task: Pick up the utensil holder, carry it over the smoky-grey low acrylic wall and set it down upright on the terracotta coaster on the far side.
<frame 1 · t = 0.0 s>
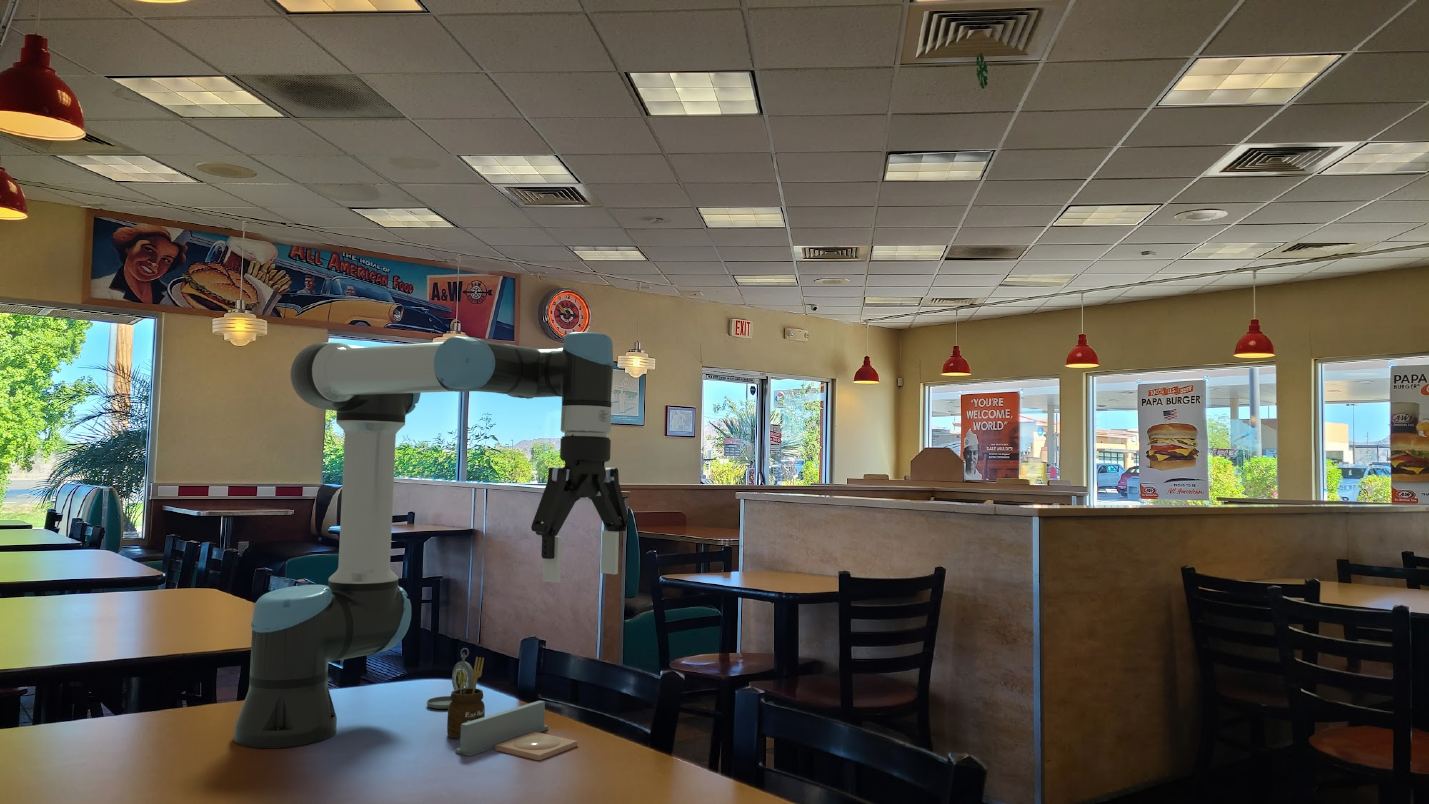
hand: (581, 577, 141), 28 cm above the table, fingers open, 13 cm apart
pocket watch: (451, 706, 174), on the table
low wall: (503, 740, 152), on the table
coaster: (536, 748, 149), on the table
utensil holder: (465, 735, 155), on the table
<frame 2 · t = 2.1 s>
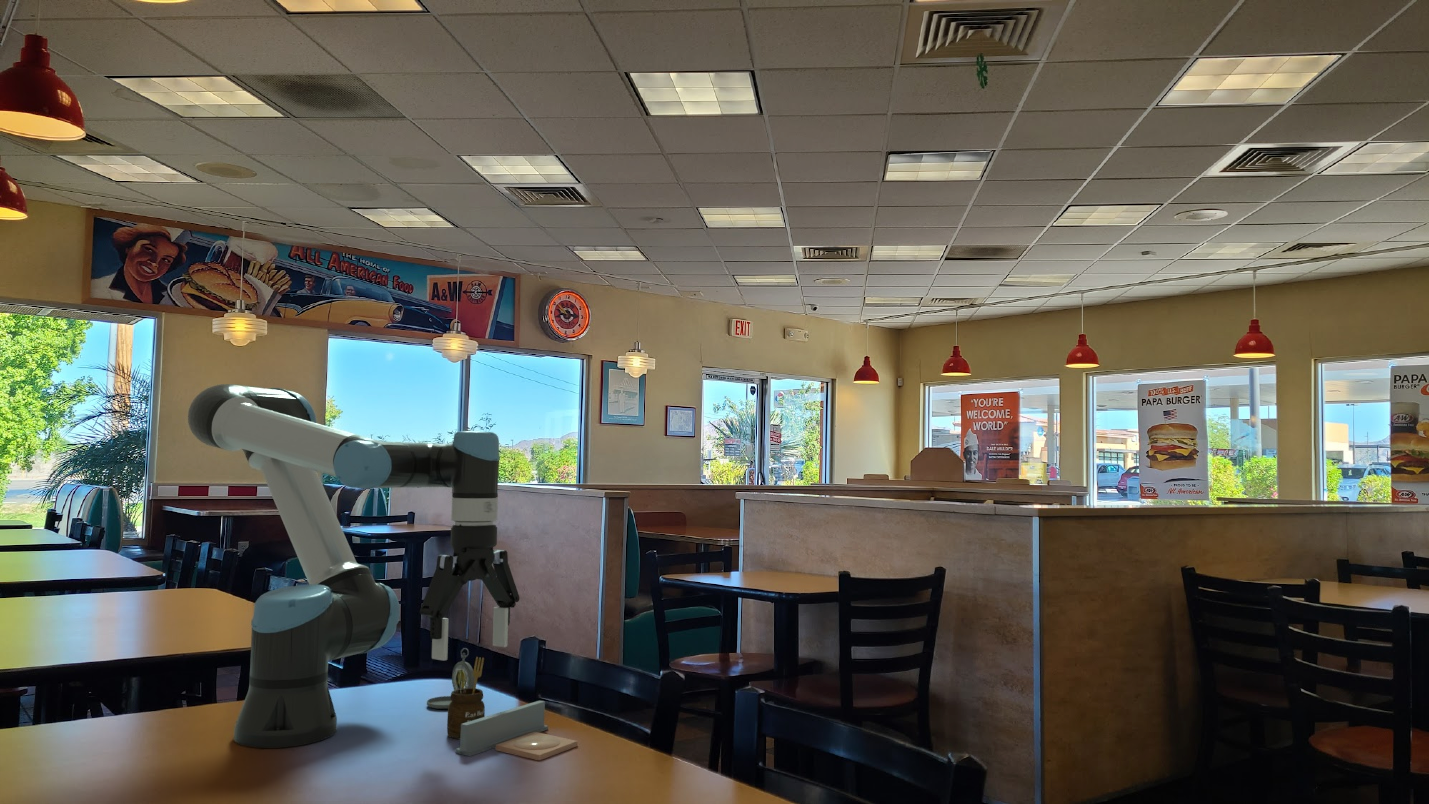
hand: (470, 652, 156), 13 cm above the table, fingers open, 13 cm apart
nothing on the table moved.
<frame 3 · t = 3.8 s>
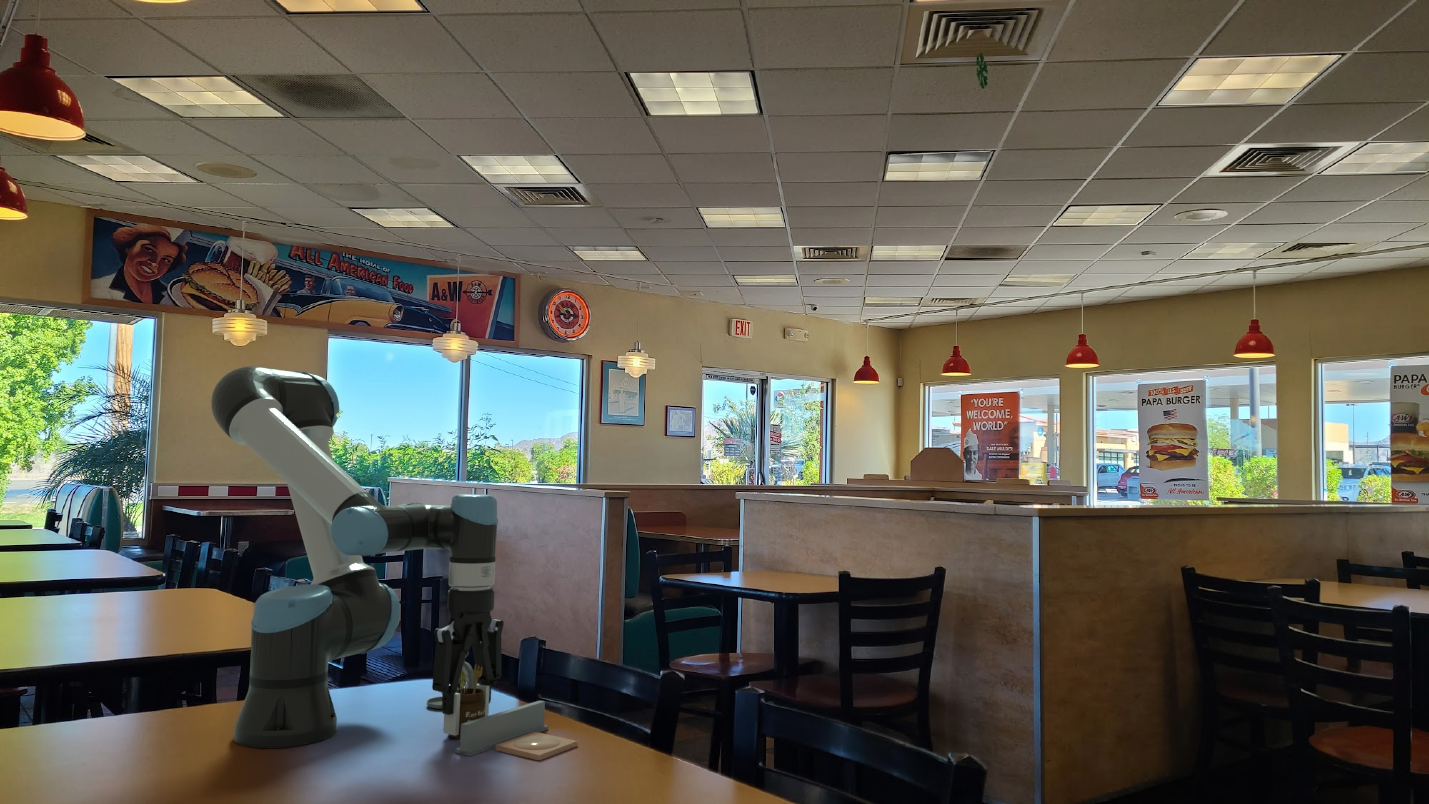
hand: (466, 728, 155), 1 cm above the table, fingers closed on utensil holder, 6 cm apart
utensil holder: (466, 735, 156), on the table, touching gripper
everything else where it was.
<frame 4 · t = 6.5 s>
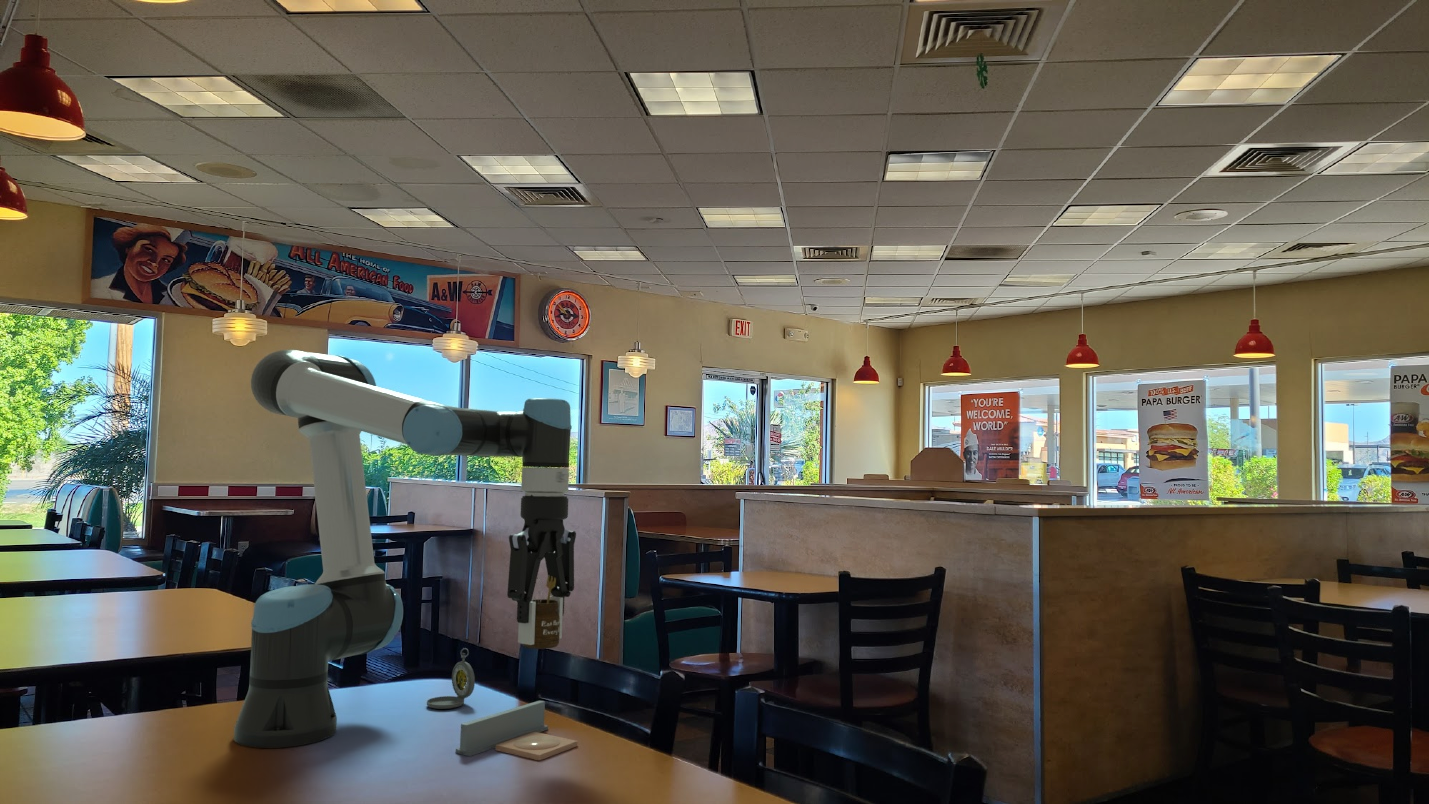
hand: (540, 640, 150), 17 cm above the table, fingers closed on utensil holder, 6 cm apart
utensil holder: (540, 647, 150), point 16 cm above the table, touching gripper
everything else where it was.
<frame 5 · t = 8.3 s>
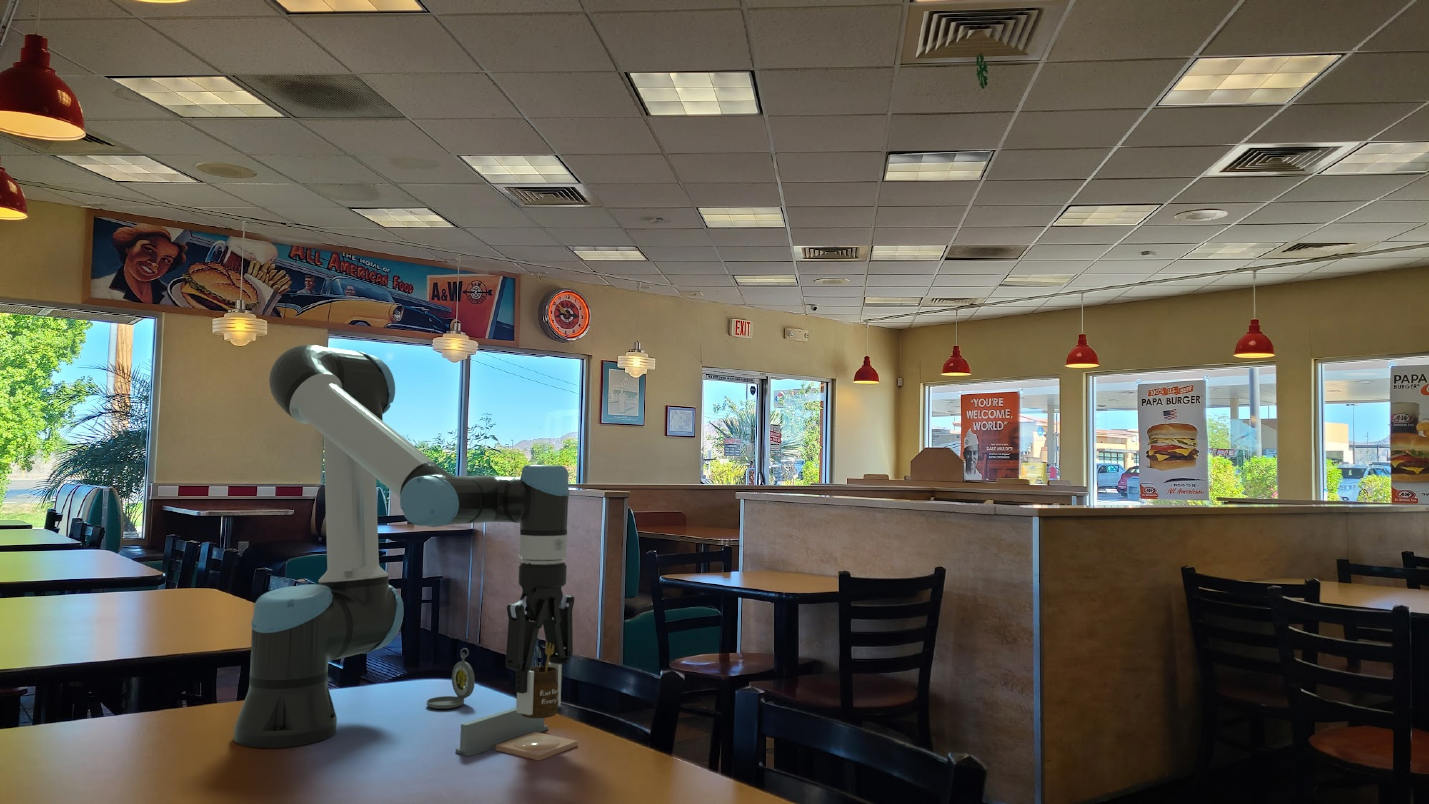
hand: (538, 708, 149), 6 cm above the table, fingers closed on utensil holder, 6 cm apart
utensil holder: (539, 715, 149), point 5 cm above the table, touching gripper
everything else where it was.
when the fingers open (3 cm above the table, at t = 9.3 s): utensil holder drops 1 cm, resting on coaster.
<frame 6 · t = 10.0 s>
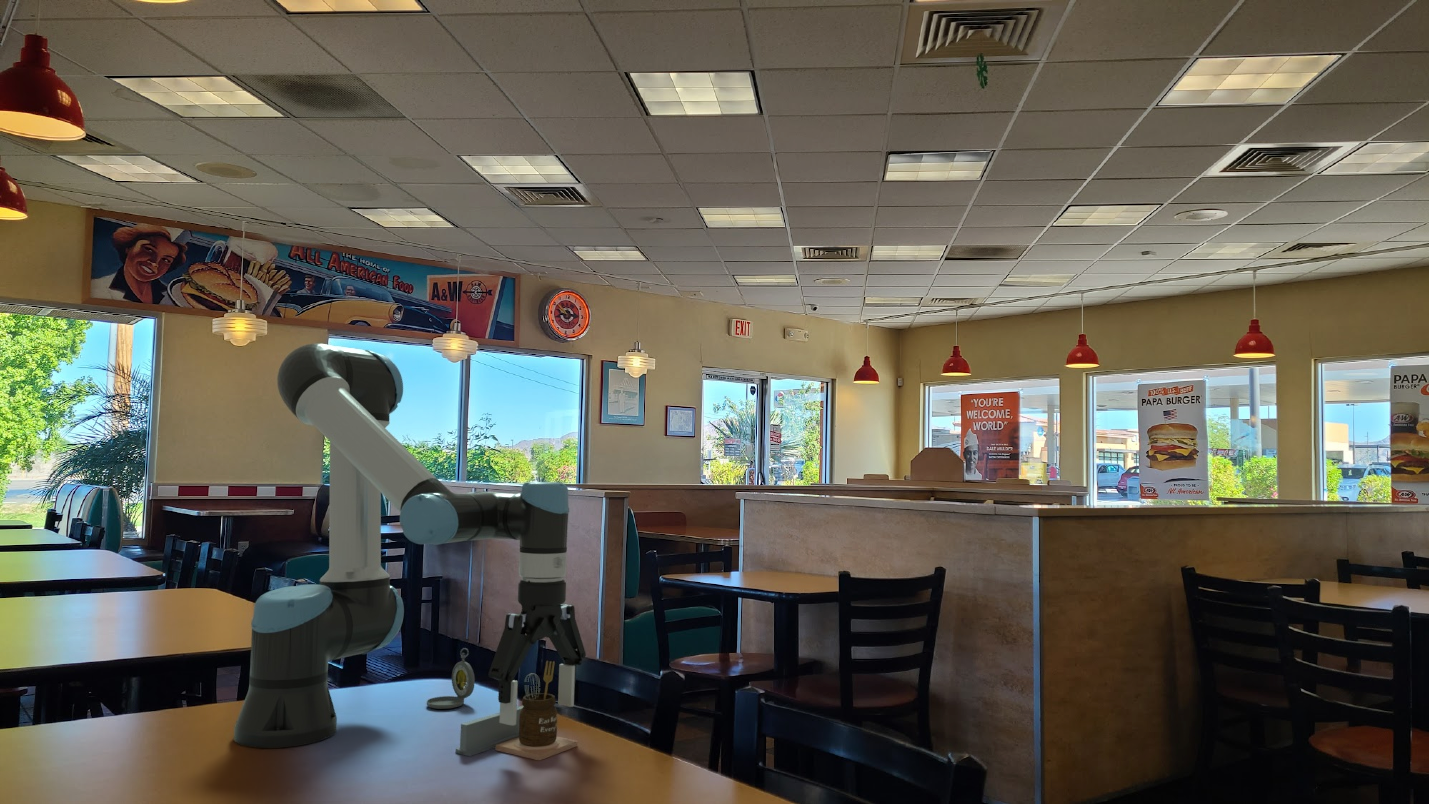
hand: (537, 714, 149), 5 cm above the table, fingers open, 13 cm apart
utensil holder: (538, 743, 149), point 1 cm above the table, touching coaster
everything else where it was.
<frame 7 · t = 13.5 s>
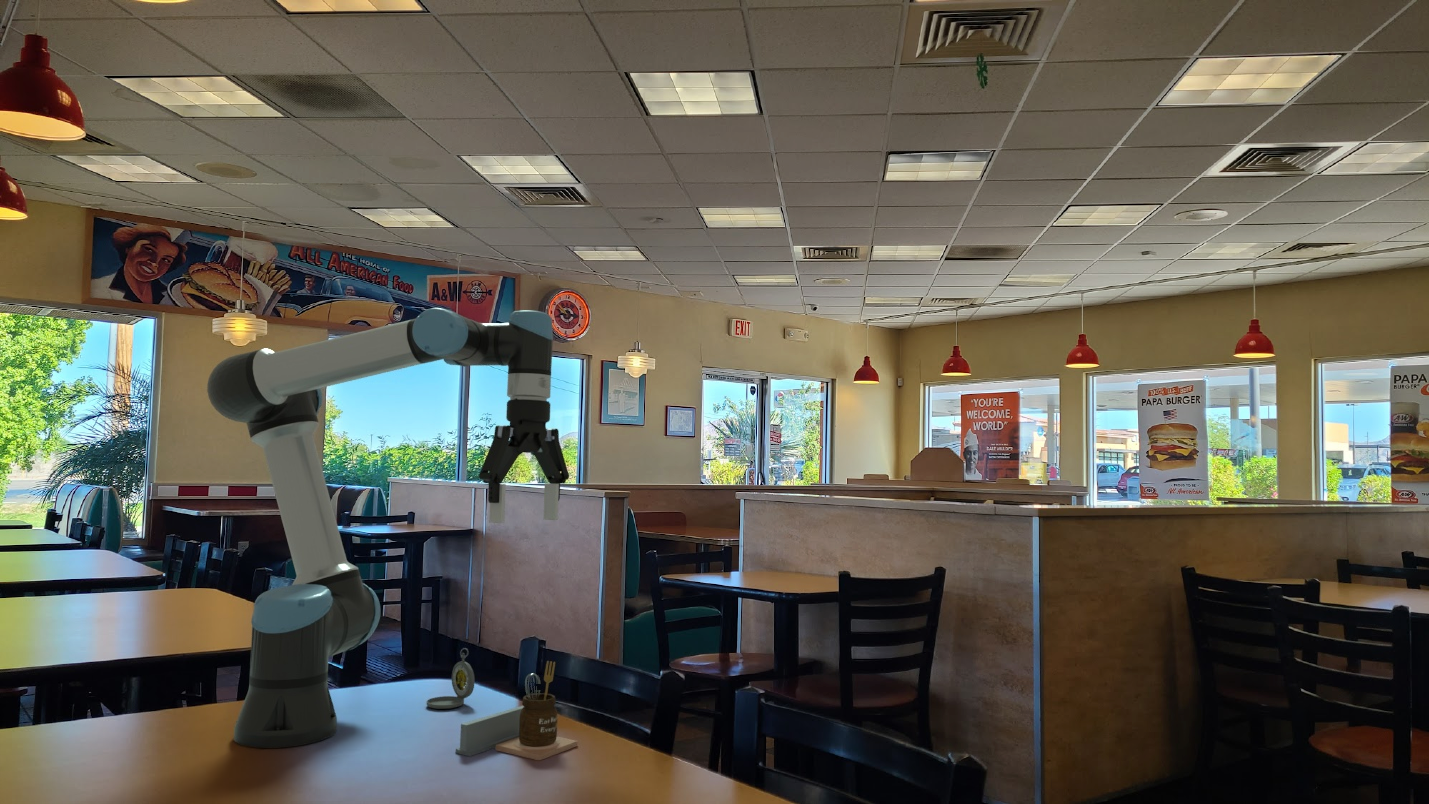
hand: (524, 521, 164), 35 cm above the table, fingers open, 13 cm apart
nothing on the table moved.
at the end: utensil holder inside the target area on the coaster (0.3 cm from its centre), point 0.7 cm above the coaster's base; utensil holder tilted 0°; the gripper is holding nothing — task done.
